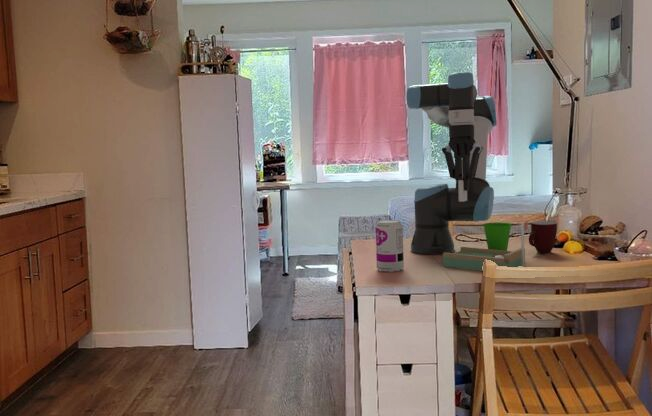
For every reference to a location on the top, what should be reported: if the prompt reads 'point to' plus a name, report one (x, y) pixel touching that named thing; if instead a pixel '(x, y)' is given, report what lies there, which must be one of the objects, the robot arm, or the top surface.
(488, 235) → the cup
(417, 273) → the top surface
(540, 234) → the mug
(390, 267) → the supplement can
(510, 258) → the green tray
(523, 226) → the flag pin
